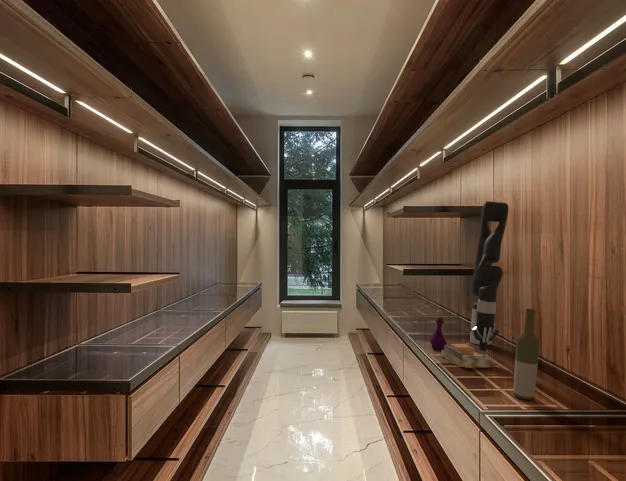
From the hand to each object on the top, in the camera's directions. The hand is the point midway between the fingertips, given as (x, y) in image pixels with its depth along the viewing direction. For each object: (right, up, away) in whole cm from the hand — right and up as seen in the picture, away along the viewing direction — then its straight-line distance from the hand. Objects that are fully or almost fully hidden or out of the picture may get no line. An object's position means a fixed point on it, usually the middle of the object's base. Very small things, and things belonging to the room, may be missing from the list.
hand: (483, 350), depth 173 cm
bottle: (-3, -6, -38) cm, 39 cm away
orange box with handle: (-10, -1, -3) cm, 11 cm away
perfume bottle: (-15, -4, +16) cm, 22 cm away
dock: (-9, -4, -3) cm, 10 cm away
